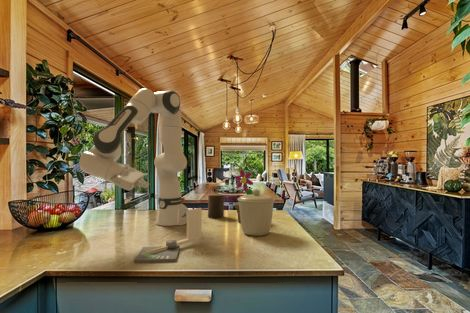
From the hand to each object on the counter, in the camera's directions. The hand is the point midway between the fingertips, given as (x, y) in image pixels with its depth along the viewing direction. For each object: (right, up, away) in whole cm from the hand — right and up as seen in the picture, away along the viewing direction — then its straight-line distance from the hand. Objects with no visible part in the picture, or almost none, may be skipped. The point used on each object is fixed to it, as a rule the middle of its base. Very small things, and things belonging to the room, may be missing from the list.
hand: (148, 185), depth 119 cm
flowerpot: (+45, -24, +35) cm, 62 cm away
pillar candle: (+26, -25, +49) cm, 61 cm away
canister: (+48, -24, +12) cm, 55 cm away
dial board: (+10, -23, -19) cm, 32 cm away
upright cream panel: (+14, -22, -12) cm, 29 cm away
